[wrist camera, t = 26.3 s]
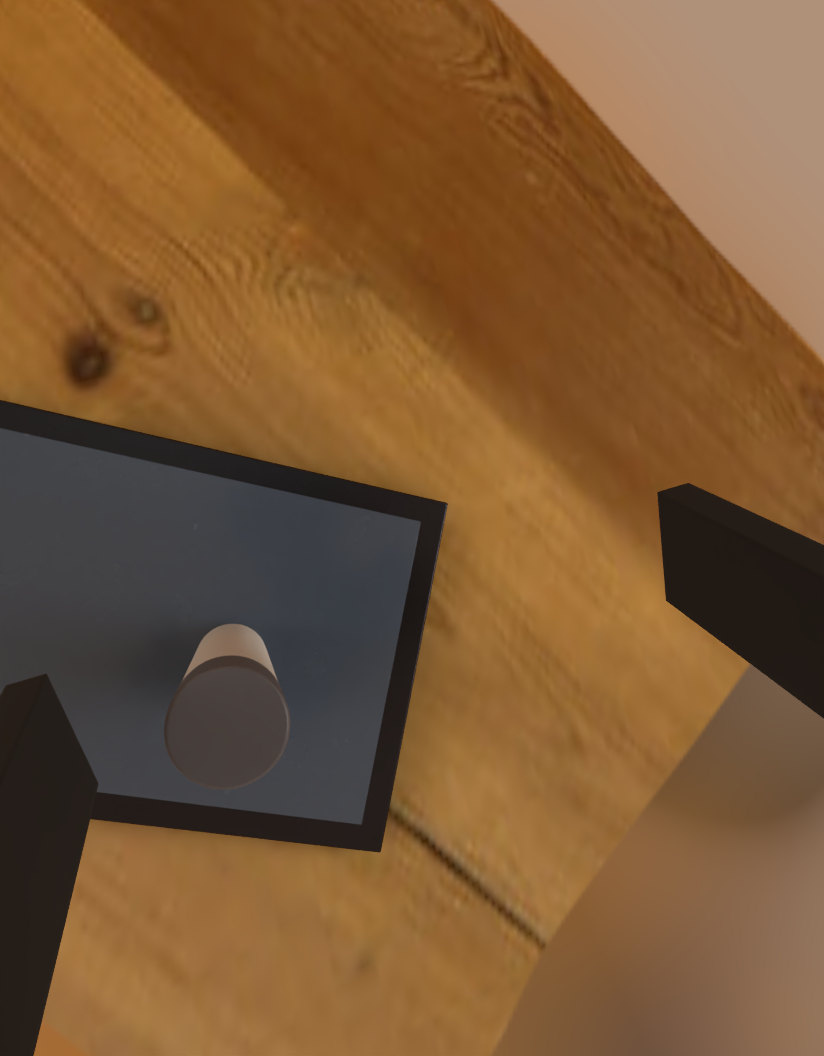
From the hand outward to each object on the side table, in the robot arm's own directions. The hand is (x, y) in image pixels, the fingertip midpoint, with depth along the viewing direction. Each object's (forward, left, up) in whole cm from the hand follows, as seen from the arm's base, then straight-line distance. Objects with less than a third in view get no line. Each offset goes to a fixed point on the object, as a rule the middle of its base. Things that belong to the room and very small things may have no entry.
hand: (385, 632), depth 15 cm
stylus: (+3, +3, -13) cm, 14 cm away
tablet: (+5, +2, -14) cm, 15 cm away
